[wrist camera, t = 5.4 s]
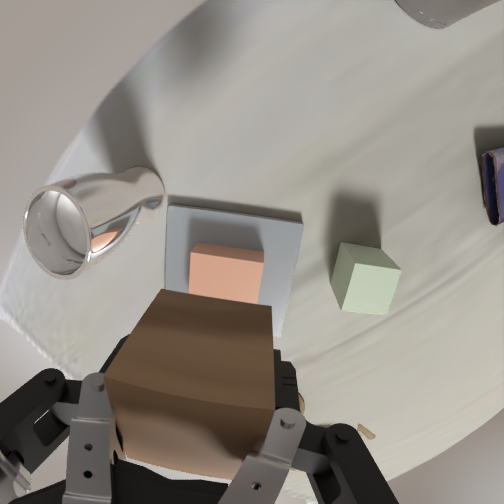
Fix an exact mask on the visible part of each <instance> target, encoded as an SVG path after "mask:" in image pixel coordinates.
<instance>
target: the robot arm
mask: <svg viewBox="0 0 504 504" xmlns="http://www.w3.org/2000/svg"><path fill="white" fill-rule="evenodd" d="M498 1H500V0H396V2H397V3H398V5H399V6H400V7H401V8H402V9H403V10H404V11H405V12H406V13H407V14H408V15H410V16H411V17H412V18H414V19H415V20H417V21H418V22H420V23H422V24H424V25H426V26H429V27H432V28H437V29H438V28H445V27H448V26H450V25H451V24H453V23H455V22H457V21H459V20H461V19H463V18H465V17H467V16H469V15H471V14H473V13H475V12H477V11H479V10H481V9H483V8H485V7H487V6H489V5H491V4H494V3H496V2H498ZM129 335H130V334H128V335H127V336H125V337H124V338H122V339H121V340H120V341H119V343H118V344H117V346H116V348H115V349H114V350H113V351H112V353H111V354H110V356H109V357H108V359H107V360H106V362H105V363H104V365H103V366H102V368H101V369H100V371H99V372H98V373H92V374H89V375H87V376H86V377H85V378H84V379H83V381H78V380H66V379H65V376H64V374H63V373H62V372H61V371H60V370H58V369H54V368H49V369H45V370H42V371H41V372H40V373H38V374H37V375H36V376H34V377H33V378H32V379H30V380H29V381H28V382H27V383H25V384H24V385H23V386H21V387H20V388H19V389H18V390H16V391H15V392H14V393H13V394H11V395H10V396H9V397H8V398H6V399H5V400H4V401H2V402H1V403H0V504H274V503H275V501H276V499H277V497H278V495H279V493H280V490H281V488H282V486H283V484H284V481H285V479H286V477H287V474H288V472H289V470H290V467H291V468H294V469H297V470H301V471H304V472H306V473H307V476H308V478H309V481H310V484H311V486H312V489H313V491H314V493H315V496H316V498H317V501H318V503H319V504H399V503H398V501H397V500H396V498H395V496H394V494H393V492H392V491H391V489H390V487H389V485H388V484H387V482H386V480H385V478H384V477H383V475H382V473H381V471H380V470H379V468H378V466H377V464H376V463H375V461H374V459H373V457H372V456H371V454H370V452H369V450H368V449H367V447H366V445H365V444H364V442H363V440H362V438H361V437H360V435H359V433H358V432H357V430H356V429H355V428H353V427H352V426H350V425H347V424H343V423H338V424H334V425H332V426H330V427H329V428H328V429H326V428H323V427H319V426H316V425H313V424H311V423H309V422H308V421H307V420H306V419H305V417H304V416H303V415H302V414H301V411H300V404H299V395H298V386H297V380H296V370H295V368H294V367H293V365H292V364H291V362H287V361H281V352H280V350H277V349H273V352H274V383H275V412H274V415H273V418H272V422H271V425H270V428H269V431H268V434H267V435H260V437H259V439H258V441H257V443H256V444H255V446H254V448H253V450H252V451H250V452H249V453H248V455H247V456H246V458H245V460H244V462H243V463H242V465H241V467H240V468H239V470H238V472H237V473H236V475H235V477H234V478H233V480H232V482H231V483H230V485H229V487H228V484H227V483H218V482H212V481H206V480H171V479H168V478H166V477H163V476H161V475H159V474H157V473H155V472H153V471H151V470H149V469H147V468H146V467H143V466H140V465H137V464H133V463H130V462H127V461H126V457H125V442H124V439H123V437H121V436H120V435H119V431H118V428H117V425H116V422H115V421H116V413H115V409H114V406H113V405H112V404H110V401H109V398H108V394H107V390H106V386H105V382H104V378H103V375H104V374H105V372H106V370H107V369H108V367H109V366H110V364H111V363H112V361H113V360H114V358H115V356H116V355H117V353H118V352H119V350H120V349H121V347H122V346H123V344H124V343H125V341H126V340H127V338H128V337H129ZM47 410H49V411H48V412H47V413H46V414H45V415H44V416H43V417H42V418H40V417H41V416H42V415H43V414H44V413H45V412H46V411H47ZM38 418H40V419H39V420H38V421H37V422H36V423H35V421H36V420H37V419H38ZM34 423H35V424H34ZM68 436H69V444H68V455H67V470H66V479H65V480H62V481H60V482H58V483H55V484H53V485H50V486H48V487H45V488H43V489H40V490H37V491H35V492H32V493H29V494H26V492H28V491H29V490H30V489H31V485H30V484H31V474H32V473H33V472H34V471H35V470H36V469H37V468H38V467H39V466H40V465H41V464H42V463H43V462H44V460H45V459H46V458H47V457H48V456H49V455H50V454H51V453H52V452H53V451H54V450H55V449H56V448H57V447H58V446H59V445H60V444H61V443H62V442H63V441H64V440H65V439H66V438H67V437H68Z"/></svg>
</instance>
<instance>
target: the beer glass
mask: <svg viewBox="0 0 504 504" xmlns="http://www.w3.org/2000/svg"><path fill="white" fill-rule="evenodd" d="M164 196H165V194H164V187H163V184H162V182H161V180H160V178H159V177H158V175H157V174H156V173H155V172H153V171H152V170H150V169H148V168H145V167H133V168H130V169H128V170H126V171H125V172H123V173H122V174H113V173H104V172H90V173H84V174H78V175H75V176H71V177H68V178H65V179H62V180H60V181H57V182H55V183H53V184H50V185H48V186H44V187H41V188H40V189H38V190H37V191H36V192H34V193H33V194H32V196H31V197H30V199H29V200H28V202H27V205H26V208H25V211H24V218H23V229H24V236H25V240H26V244H27V246H28V249H29V251H30V253H31V255H32V257H33V258H34V260H35V261H36V263H37V264H38V265H39V266H40V267H41V268H42V269H43V270H44V271H45V272H46V273H47V274H49V275H51V276H52V277H55V278H57V279H62V280H69V279H73V278H76V277H77V276H79V275H80V274H81V273H82V272H84V271H86V270H87V269H89V268H91V267H93V266H94V265H96V264H97V263H99V262H100V261H102V260H103V259H105V258H106V257H108V256H109V255H110V254H111V253H112V252H114V251H115V250H116V249H117V248H118V247H119V246H120V245H121V244H122V243H123V242H124V241H125V239H126V238H127V237H128V236H129V234H130V233H131V232H132V230H133V229H134V228H135V226H136V225H137V224H138V223H139V222H144V221H147V220H150V219H151V218H153V217H154V216H156V215H157V214H158V212H159V211H160V210H161V208H162V205H163V202H164Z"/></svg>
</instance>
